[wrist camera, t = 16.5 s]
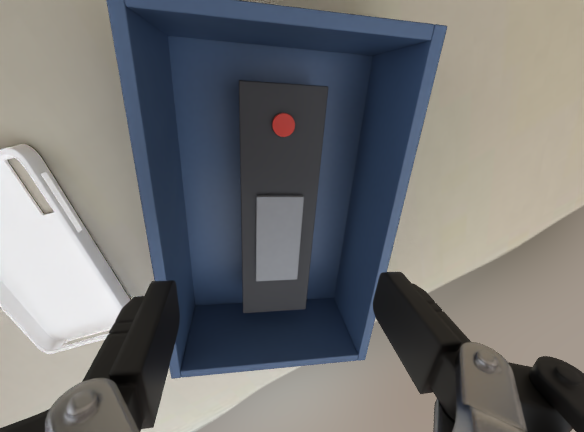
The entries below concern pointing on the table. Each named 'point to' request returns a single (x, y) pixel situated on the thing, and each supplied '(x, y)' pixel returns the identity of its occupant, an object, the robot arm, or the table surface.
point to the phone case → (51, 263)
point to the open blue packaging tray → (226, 164)
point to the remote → (278, 190)
